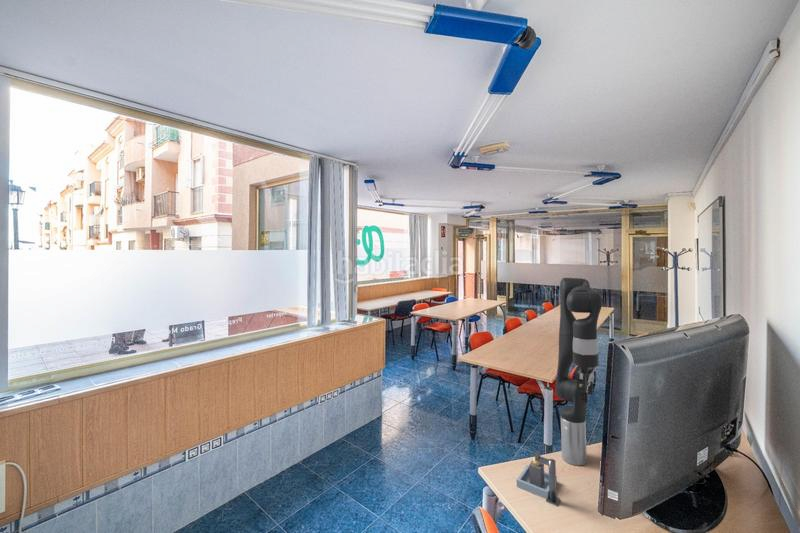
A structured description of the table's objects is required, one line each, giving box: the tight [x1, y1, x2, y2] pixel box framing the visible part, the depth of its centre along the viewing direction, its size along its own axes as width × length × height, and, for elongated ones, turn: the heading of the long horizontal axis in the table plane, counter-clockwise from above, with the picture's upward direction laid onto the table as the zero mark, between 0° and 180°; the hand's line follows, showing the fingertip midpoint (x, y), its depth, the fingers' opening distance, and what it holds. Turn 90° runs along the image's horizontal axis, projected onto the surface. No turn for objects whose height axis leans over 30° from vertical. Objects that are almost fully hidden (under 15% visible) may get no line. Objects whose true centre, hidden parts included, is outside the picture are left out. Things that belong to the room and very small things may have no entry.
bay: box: [516, 464, 558, 500], centre depth 123 cm, size 11×11×2 cm
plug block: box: [528, 456, 545, 488], centre depth 123 cm, size 4×4×9 cm
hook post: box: [534, 450, 561, 507], centre depth 115 cm, size 4×7×15 cm, turn 50°
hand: (586, 398), depth 112 cm, fingers open, 8 cm apart
